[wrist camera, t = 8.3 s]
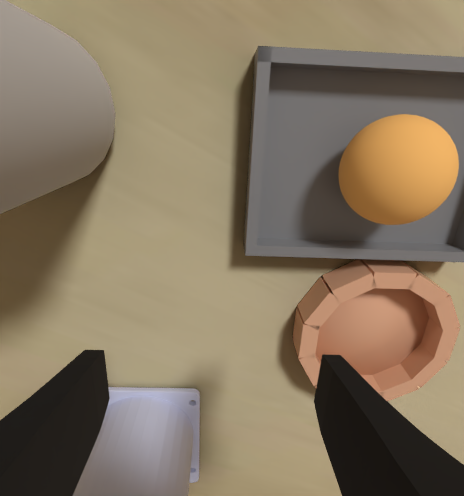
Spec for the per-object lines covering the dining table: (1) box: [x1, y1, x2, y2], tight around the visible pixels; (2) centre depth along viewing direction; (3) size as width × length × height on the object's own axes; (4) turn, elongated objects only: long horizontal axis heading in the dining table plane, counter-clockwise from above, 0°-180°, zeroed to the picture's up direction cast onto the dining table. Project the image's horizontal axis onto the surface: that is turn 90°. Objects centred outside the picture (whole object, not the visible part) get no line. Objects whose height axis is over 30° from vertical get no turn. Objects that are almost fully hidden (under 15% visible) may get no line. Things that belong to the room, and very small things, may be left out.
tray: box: [244, 46, 464, 262], centre depth 18 cm, size 10×13×2 cm
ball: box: [338, 114, 459, 225], centre depth 16 cm, size 5×5×5 cm
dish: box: [292, 259, 460, 401], centre depth 21 cm, size 10×10×2 cm
